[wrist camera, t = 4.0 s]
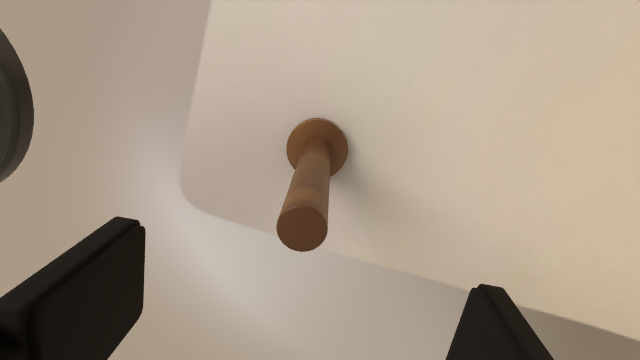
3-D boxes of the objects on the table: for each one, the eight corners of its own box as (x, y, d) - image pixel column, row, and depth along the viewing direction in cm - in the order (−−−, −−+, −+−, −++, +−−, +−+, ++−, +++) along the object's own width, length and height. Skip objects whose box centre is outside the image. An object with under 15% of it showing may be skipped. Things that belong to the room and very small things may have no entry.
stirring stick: (283, 170, 28) (239, 268, 15) (292, 113, 27) (252, 166, 14) (340, 180, 28) (346, 286, 15) (352, 124, 27) (369, 187, 14)
